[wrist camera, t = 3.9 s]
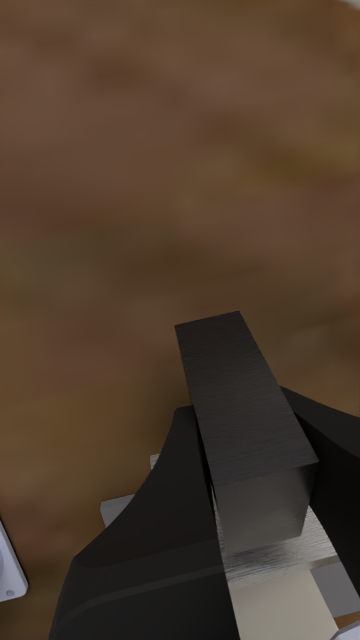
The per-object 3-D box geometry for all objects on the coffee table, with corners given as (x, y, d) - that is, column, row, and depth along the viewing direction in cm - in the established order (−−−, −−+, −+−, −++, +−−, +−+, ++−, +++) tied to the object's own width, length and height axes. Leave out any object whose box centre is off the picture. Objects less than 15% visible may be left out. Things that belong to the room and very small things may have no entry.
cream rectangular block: (197, 558, 21) (225, 745, 13) (192, 536, 20) (217, 717, 13) (285, 535, 21) (364, 706, 13) (282, 514, 21) (361, 677, 13)
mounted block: (154, 466, 18) (169, 605, 13) (101, 341, 12) (95, 516, 7) (291, 433, 18) (353, 558, 13) (309, 295, 12) (432, 433, 7)
